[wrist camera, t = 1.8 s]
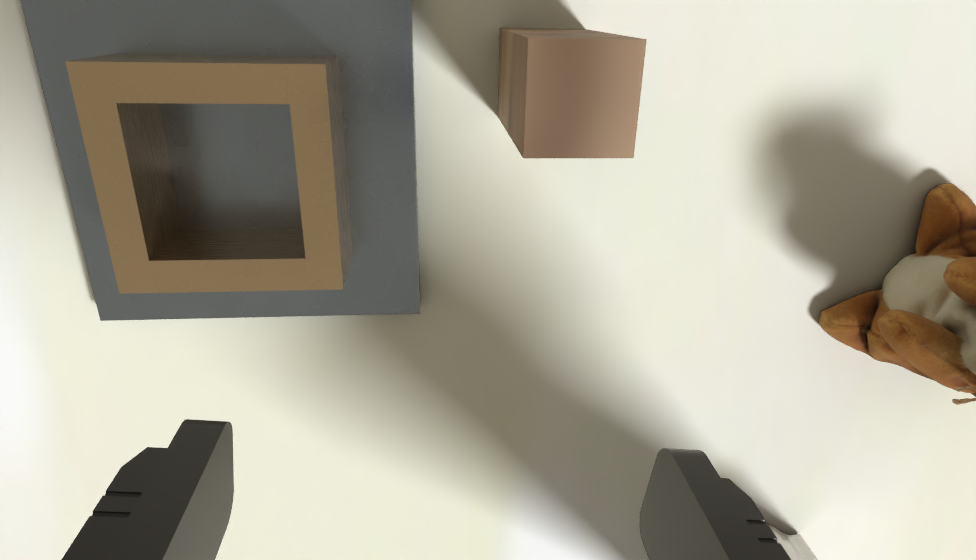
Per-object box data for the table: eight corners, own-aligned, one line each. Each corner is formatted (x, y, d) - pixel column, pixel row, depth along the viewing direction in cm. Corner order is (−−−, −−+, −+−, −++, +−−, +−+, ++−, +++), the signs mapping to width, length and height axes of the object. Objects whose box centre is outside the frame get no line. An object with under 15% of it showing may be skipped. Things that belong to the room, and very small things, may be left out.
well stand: (411, -23, 28) (407, -28, 23) (419, 305, 34) (418, 351, 30) (26, -32, 27) (-57, -39, 22) (109, 311, 33) (58, 361, 28)
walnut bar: (585, 29, 30) (646, 39, 21) (579, 117, 31) (633, 157, 23) (499, 28, 29) (528, 37, 21) (497, 116, 31) (523, 158, 23)
